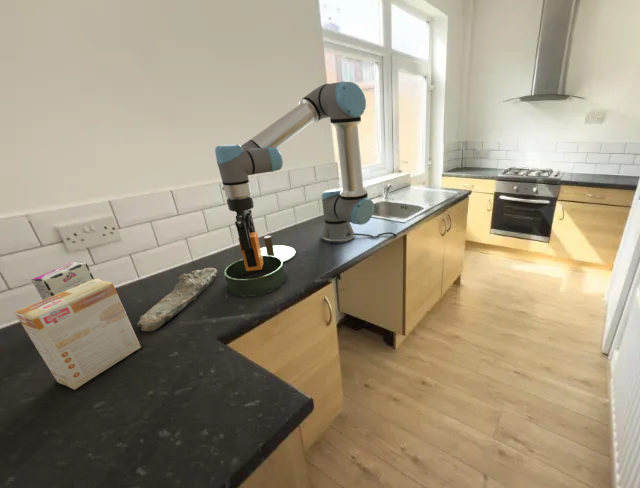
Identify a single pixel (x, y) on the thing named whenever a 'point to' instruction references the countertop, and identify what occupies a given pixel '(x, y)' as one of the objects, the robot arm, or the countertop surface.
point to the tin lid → (277, 250)
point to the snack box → (256, 251)
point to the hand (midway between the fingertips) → (254, 262)
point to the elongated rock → (177, 298)
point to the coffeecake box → (80, 331)
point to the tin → (255, 284)
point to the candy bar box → (62, 279)
